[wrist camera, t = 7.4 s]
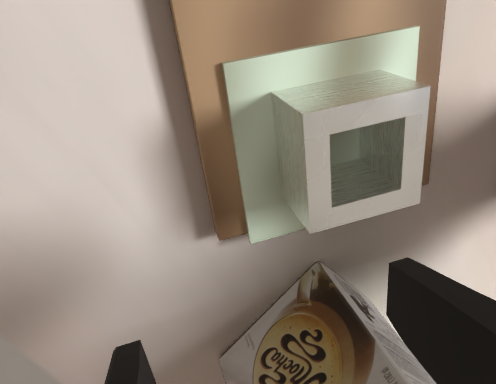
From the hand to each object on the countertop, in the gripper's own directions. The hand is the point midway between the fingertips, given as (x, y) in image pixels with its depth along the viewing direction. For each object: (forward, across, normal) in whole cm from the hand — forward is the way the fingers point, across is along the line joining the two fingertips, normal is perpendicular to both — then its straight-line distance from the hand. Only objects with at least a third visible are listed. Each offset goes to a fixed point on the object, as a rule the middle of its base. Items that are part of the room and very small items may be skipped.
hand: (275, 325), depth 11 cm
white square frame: (+9, -6, -1) cm, 11 cm away
